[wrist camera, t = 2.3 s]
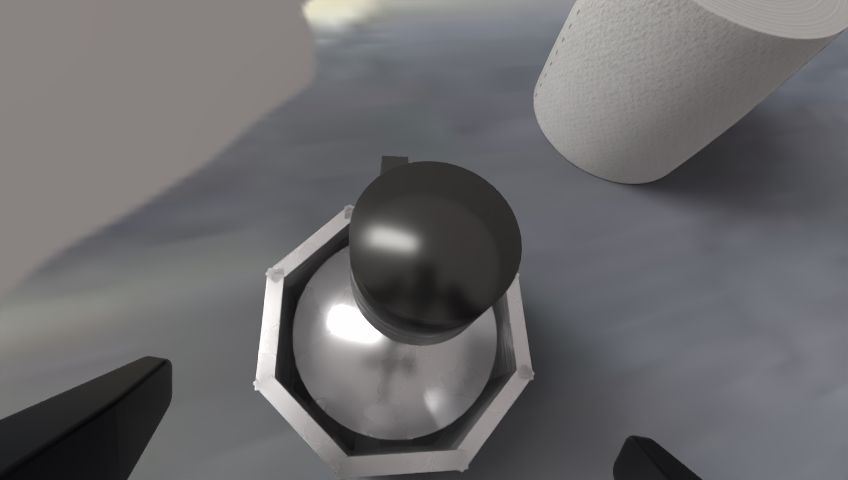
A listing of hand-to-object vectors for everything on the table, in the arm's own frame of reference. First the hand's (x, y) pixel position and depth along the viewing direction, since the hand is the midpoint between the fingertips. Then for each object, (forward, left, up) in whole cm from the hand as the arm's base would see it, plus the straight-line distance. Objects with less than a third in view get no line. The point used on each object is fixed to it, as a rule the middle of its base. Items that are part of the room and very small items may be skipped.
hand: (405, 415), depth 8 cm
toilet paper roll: (+26, 0, -13) cm, 29 cm away
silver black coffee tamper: (+3, +2, -8) cm, 9 cm away
